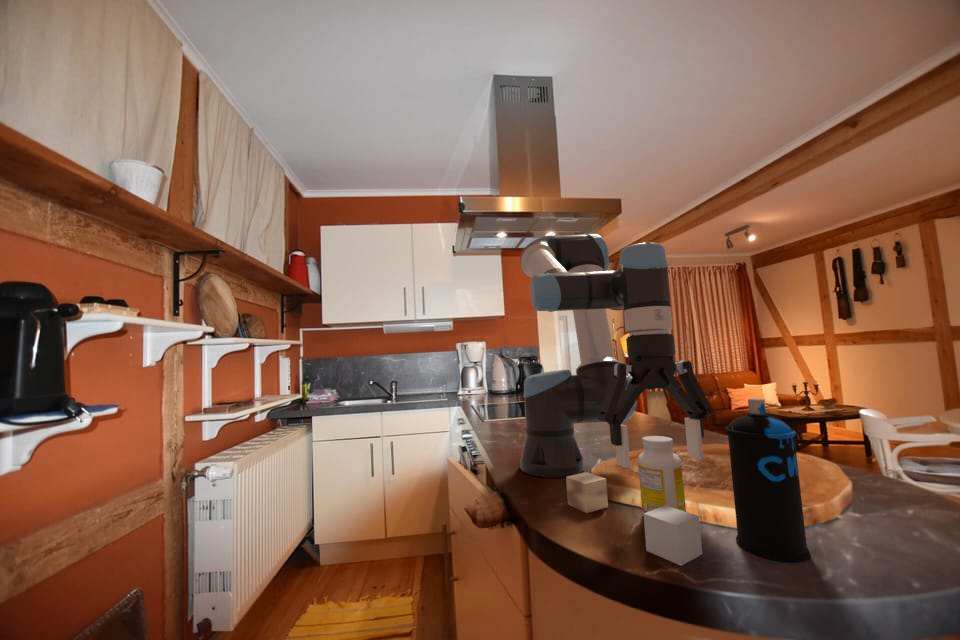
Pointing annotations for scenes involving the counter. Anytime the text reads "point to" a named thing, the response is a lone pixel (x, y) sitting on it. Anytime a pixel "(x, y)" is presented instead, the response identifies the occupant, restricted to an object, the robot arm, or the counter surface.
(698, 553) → the grey block
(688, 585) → the counter surface
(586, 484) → the birch block
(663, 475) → the supplement bottle
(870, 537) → the counter surface
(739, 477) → the aerosol can
